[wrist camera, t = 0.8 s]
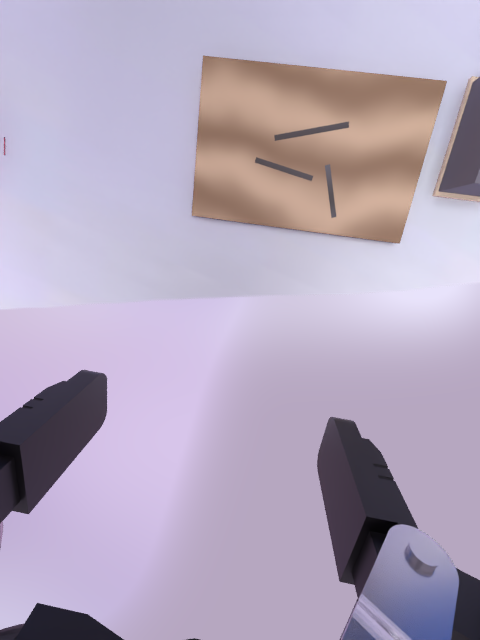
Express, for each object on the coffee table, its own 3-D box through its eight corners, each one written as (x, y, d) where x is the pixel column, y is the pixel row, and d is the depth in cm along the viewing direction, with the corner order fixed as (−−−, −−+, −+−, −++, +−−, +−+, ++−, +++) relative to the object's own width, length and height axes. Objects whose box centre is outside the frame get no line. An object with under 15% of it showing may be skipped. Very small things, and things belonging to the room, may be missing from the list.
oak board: (206, 64, 28) (203, 55, 27) (437, 88, 27) (447, 80, 25) (195, 216, 32) (191, 215, 31) (393, 242, 31) (399, 243, 30)
